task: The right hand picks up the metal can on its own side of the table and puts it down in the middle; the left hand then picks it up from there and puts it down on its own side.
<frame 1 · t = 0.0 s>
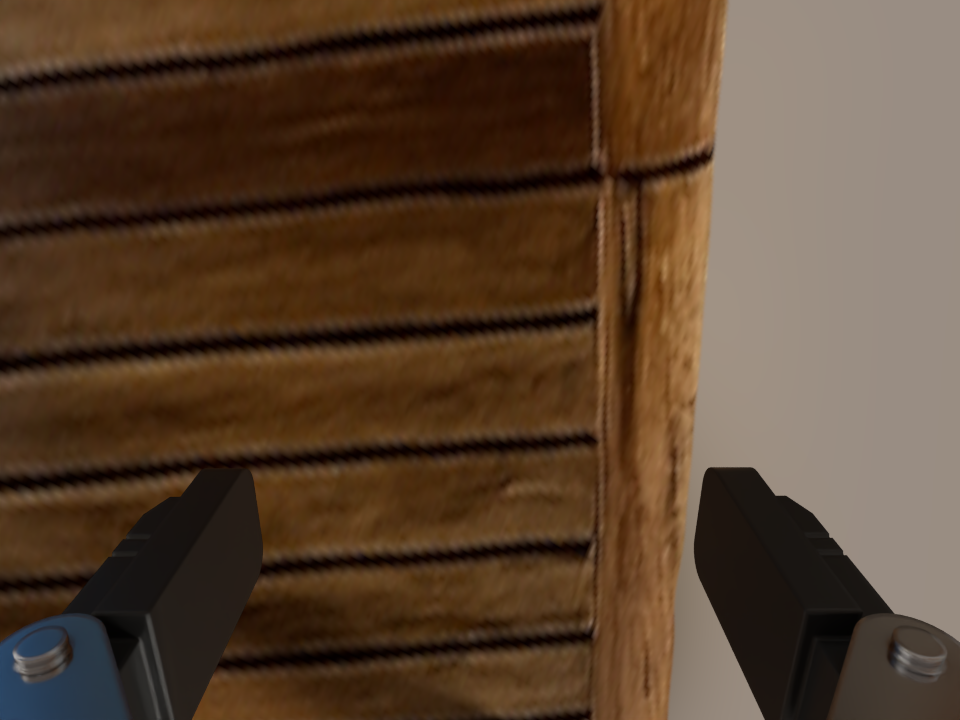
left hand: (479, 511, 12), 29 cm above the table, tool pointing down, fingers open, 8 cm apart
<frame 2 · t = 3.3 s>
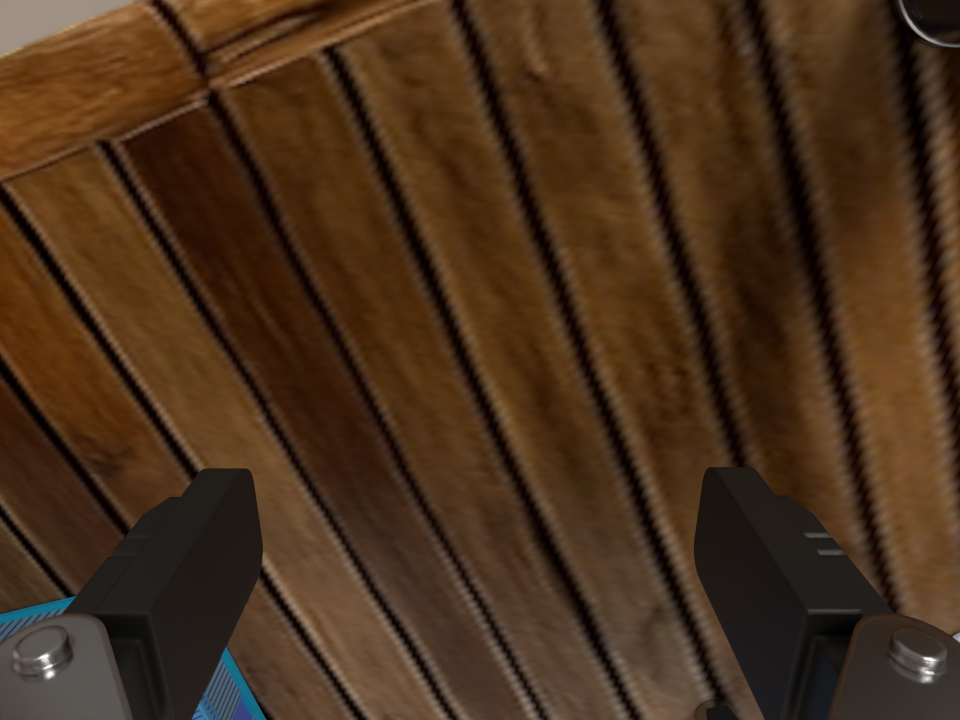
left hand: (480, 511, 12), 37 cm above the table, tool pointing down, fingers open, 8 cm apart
can: (714, 713, 63), on the table, touching right hand
when the right hand's fingers open (2 cm above the table, at t = 7.6 s): can stays where it is, on the table.
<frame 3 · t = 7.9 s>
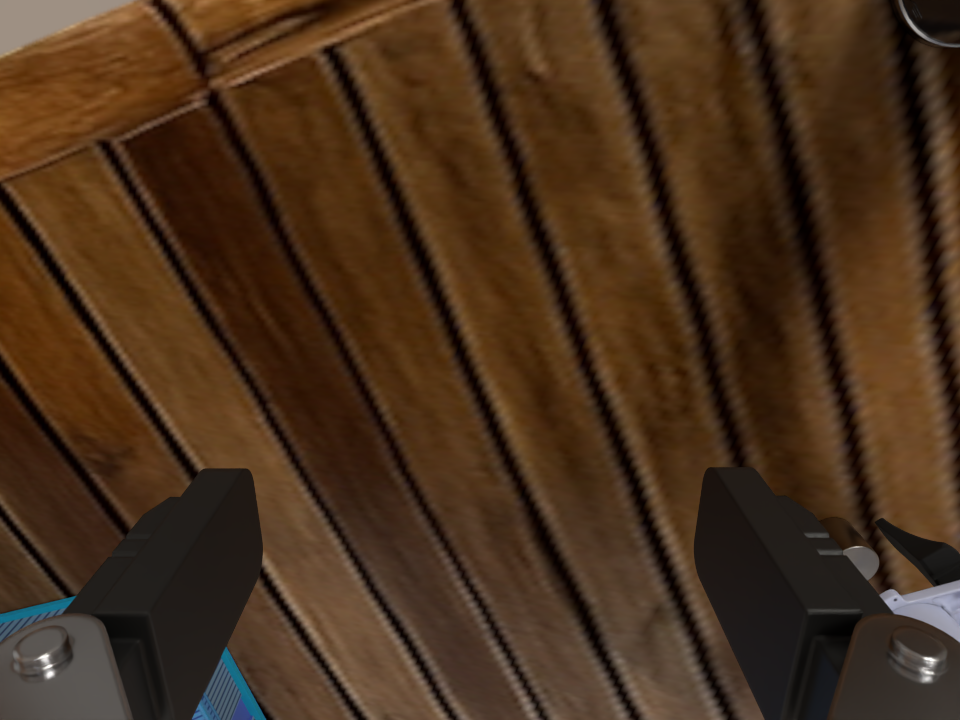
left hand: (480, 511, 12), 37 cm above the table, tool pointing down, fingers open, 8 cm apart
can: (829, 536, 56), on the table
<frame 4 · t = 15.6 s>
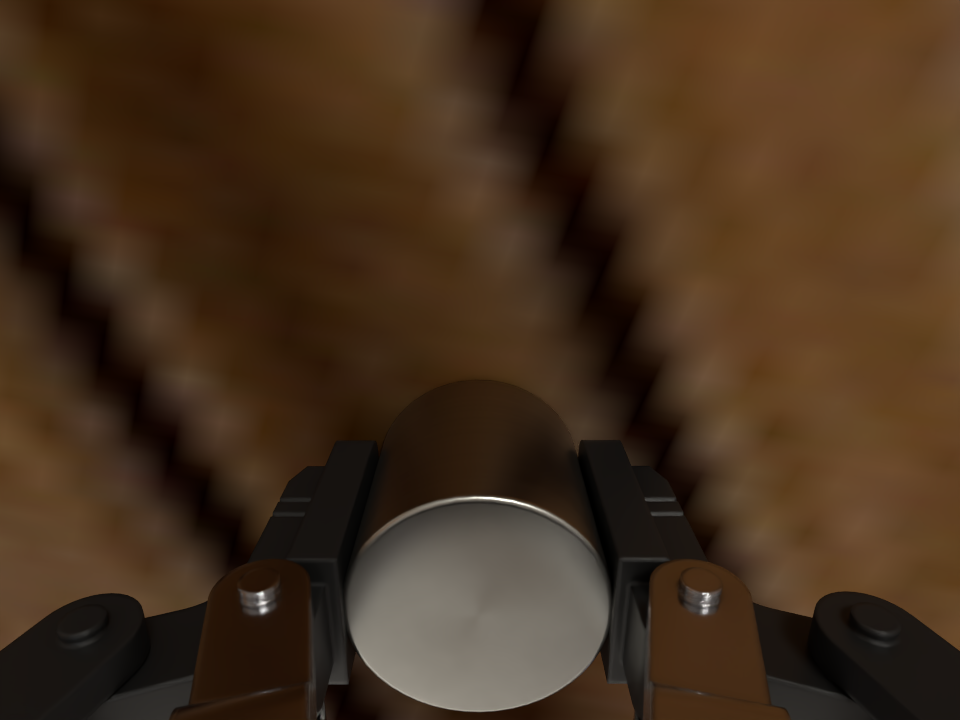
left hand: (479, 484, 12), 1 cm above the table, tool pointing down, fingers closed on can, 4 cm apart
can: (478, 468, 13), on the table, touching left hand
when the left hand's fingers open (1 cm above the table, at t = 19.1 s): can stays where it is, on the table.
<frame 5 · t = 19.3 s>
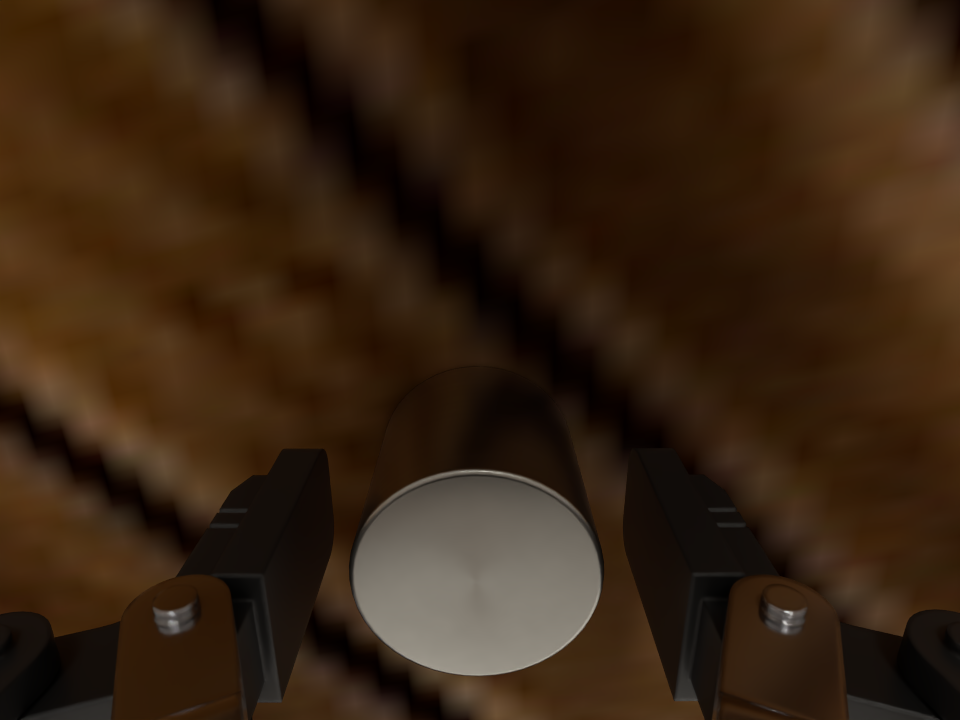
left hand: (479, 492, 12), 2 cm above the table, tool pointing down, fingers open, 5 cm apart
can: (477, 451, 14), on the table
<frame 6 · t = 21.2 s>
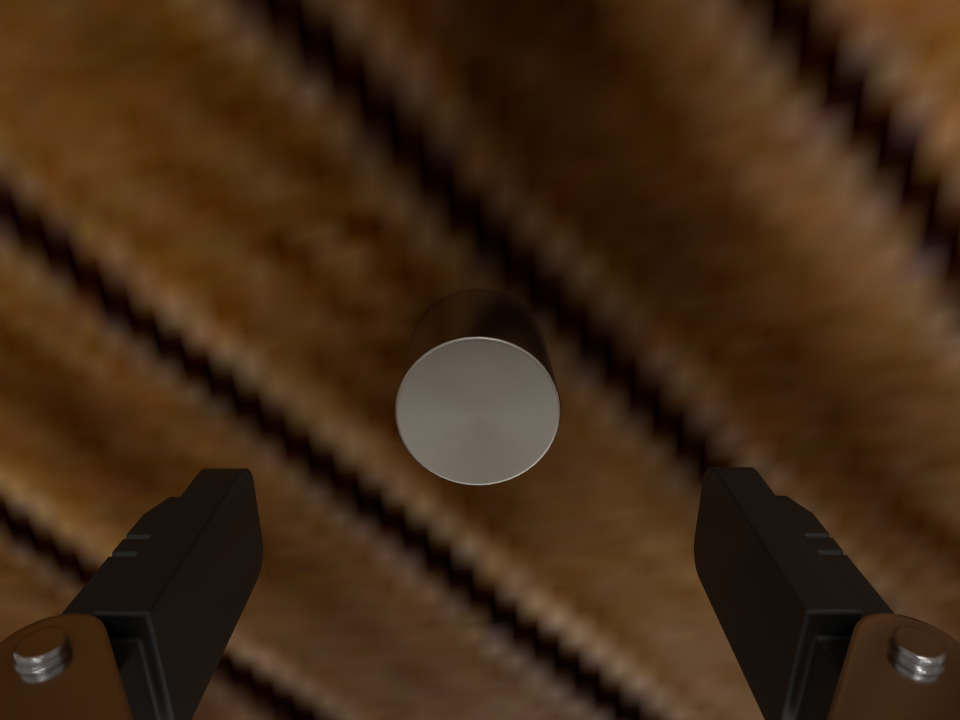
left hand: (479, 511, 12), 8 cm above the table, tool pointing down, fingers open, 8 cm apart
can: (478, 354, 19), on the table
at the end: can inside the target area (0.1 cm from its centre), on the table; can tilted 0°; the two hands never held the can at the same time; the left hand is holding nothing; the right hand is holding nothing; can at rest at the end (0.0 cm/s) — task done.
